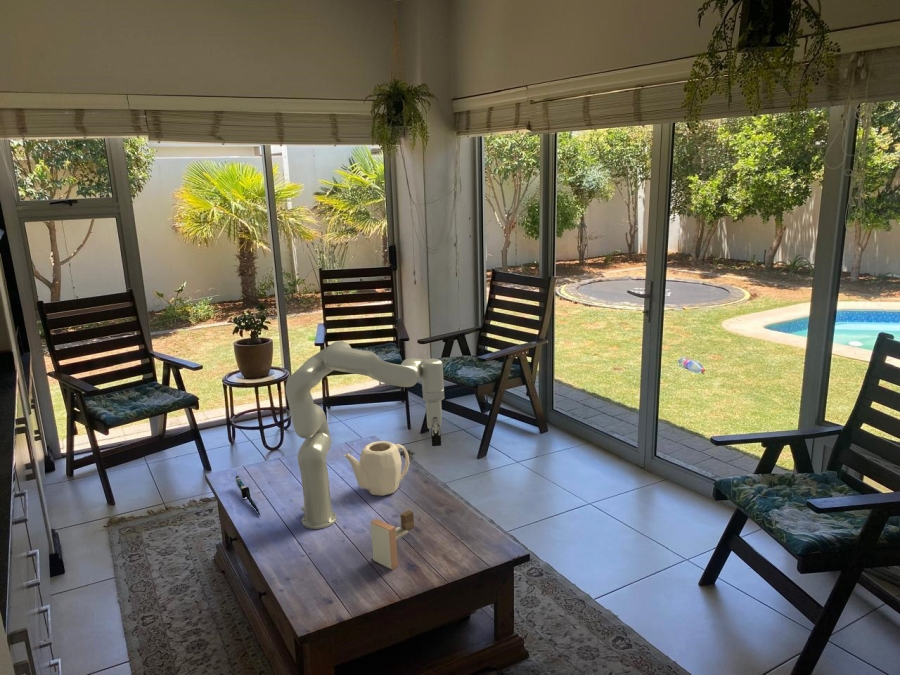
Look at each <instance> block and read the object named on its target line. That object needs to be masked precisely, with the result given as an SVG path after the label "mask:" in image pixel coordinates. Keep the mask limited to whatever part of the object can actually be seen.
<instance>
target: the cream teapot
mask: <svg viewBox="0 0 900 675" xmlns="http://www.w3.org/2000/svg"><path fill="white" fill-rule="evenodd" d="M400 449H402V450H403V452H404V455H405V463H404V466H403V469H402V465H403V464H402V463H403V461H402V459H401V458H402V457H401V454H400V452H399V450H400ZM344 457H345V458H346V459H347V460H348V462H349V464H350V465H351V467H352V471H353V474H354V477H355V479H356V481H357V485H358V486H359V488H361V489H363V490H367V491H368V492H369V493H370V494H371V495H372V496H373V495H374V496H381V497H382V496H387V495H390V494H394V493H395V492H396V491H397V489H399V485H400V483H401V481H402V480H403V479H404V477H405V476H406V474H407V473H408V471H409V466H410V456H409V453H408V451H407V448H406V447H405V446H403V445H402V444H399V443H396V444H395V443H393V442H390V441H386V440H379V441H373V442H370V443H369V444H367V445H365V446H364V447H363V449H362V450H361V453H360V456H359V458H360V459H359V460H358V459H356V458H355V457H354V456H353V455H351V454H350V453H345V454H344Z"/></svg>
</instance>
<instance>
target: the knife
mask: <svg viewBox="0 0 900 675" xmlns="http://www.w3.org/2000/svg"><path fill="white" fill-rule="evenodd" d="M235 482H236V485H237V486H238V487H237V488H239V490H240V493H241V499H242V498H245V497H247V499H246V500H249V501H248V502H249V504H250V503H251V504H250V505H251V507H252V506H253V507H254V508H255V509H256V511H257V512H258V513H257V512H256V511H255V512H256V513H257V515H258V514H259V515H260V516H259V515H258V516H259V517H261V513H260V510H259V508H258V506H257V505H256V503H255V501H254V500H253V498H252V497H251V493H250V487H249V486H245V485H244V482H243V481H242V479H241V478H240V476H239V475H236V476H235ZM253 507H252V508H253ZM254 508H253V509H254Z"/></svg>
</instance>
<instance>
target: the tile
mask: <svg viewBox="0 0 900 675" xmlns="http://www.w3.org/2000/svg"><path fill="white" fill-rule="evenodd" d="M396 528H397V527H396V526H394V525H392V524H389V523H388V522H385V521H383V520H380V519H379V518H375V519H373V520H371V521H370V533H371V535H370V536H371V545H372V546H371V547H372V548H371V549H372V559H373V561H374V562H377V564H380V565H382V566H384V567H386V568H387V569H390V570H392V571H393V570H395V569H396V568H398V567H399V558H398V557H399V556H398V546H397V540H396Z"/></svg>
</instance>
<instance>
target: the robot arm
mask: <svg viewBox="0 0 900 675" xmlns="http://www.w3.org/2000/svg"><path fill="white" fill-rule="evenodd" d="M334 371H338V372H343V373H349V374H354V375H360V376H365V377H369V378H370V379H372V380H375V381H378V382H379V383H382V384H386V385H390V386H396V387H401V388H403V387H404V388H411V387H414V386H415V385H416V384H417V383H419V380H421V387H422V389H421V390H422V391H421V392H422V400H423V401H425V411H426V424H427V425H426V426H427V429H428V430H429V429H430V431H431V432H430V433H431V434H430V435H431V447H441V446H442V434H441V427H442V423H443V422H442V420H443V418H442V417H443V416H442V414H443V412H442V411H443V410H442V408H443V407H442V401H443V400H444V399H445V385H444V383H445V382H444V366H443V362H442V360H441V359H438V358H425V359H424V358H415V357H409V358H405V359H404V360H403V361H402V362H401V364H397V363H392V362H388V361H385V360H383V359H382V358H380V357H379V356H378V354H376V353H375V352H374V351H370V350H364V349H357V348H352V347H351V345H350V344H349V343H348V342H347V341H343V340H337V341H334V342H333V343H331V344H330V345H327V347H325V348H323V349H321V350H320V351H319V352H317V353H315V354H314V355H312V356H310V357H309V358H308V359H306V361H304V362H303V364H302V365H301V366H299V367H298V368H297V369H296V370H295V371H294V372H293V373H292V374H291V375H290V376H289V377H288V379H287V381H286V383H285V394H286V399H287V402H288V407H289V413H290V416H291V421H292V426H293V429H294V432H295V434H296V435H297V436H298V437H299V438H301V439H304V441H303V442H302V444H301V445H300V448H299V449H298V452H297V463H298V466H299V470H300V477H301V486H302V495H303V504H304V505H303V506H301V508H300V510H301V511H302V512H303V513H304V516H303V517H302V519H301V525H302V526H303V527H305V528H306V529H311V530H319V529H324V528H328V527H330V526H331V525H333V524H334V523H336V521H337V518H338V517H337V514H336V512H334V511H332V510H333V509H332V501H331V500H332V499H331V489H330V480H329V479H330V478H329V472H328V471H329V470H328V467H327V466H328V465H327V461H326V460H327V459H326V457H327V455H328V453H329V451H330V449H331V447H332V439H331V438H332V437H331V434H330V429H329V424H328V421H327V416H326V413H325V411H324V410H323V408H322V407H321V406H320V405H318V404H316V403H314V398H313V396H312V394H311V391H312V389H313V388H315V387H316V386H318V384H319V383H320V382H321V381H322V380H323V378H324V377H326V376H327V375H328V374H331V373H332V372H334Z"/></svg>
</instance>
